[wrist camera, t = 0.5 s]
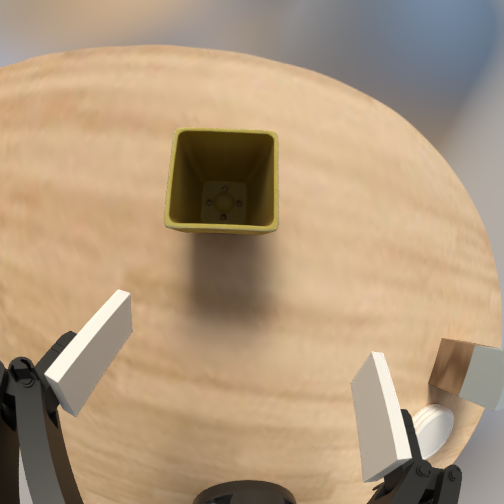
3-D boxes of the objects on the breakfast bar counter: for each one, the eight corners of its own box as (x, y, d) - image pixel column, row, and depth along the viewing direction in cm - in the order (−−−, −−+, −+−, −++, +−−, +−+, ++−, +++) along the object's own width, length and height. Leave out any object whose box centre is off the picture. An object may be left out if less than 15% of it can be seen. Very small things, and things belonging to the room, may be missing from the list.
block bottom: (453, 382, 31) (482, 393, 24) (428, 382, 30) (458, 396, 23) (466, 341, 32) (496, 347, 25) (441, 338, 31) (474, 345, 24)
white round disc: (411, 404, 30) (425, 413, 27) (450, 400, 31) (463, 406, 27) (387, 458, 29) (398, 468, 25) (428, 449, 30) (439, 457, 26)
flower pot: (180, 242, 29) (162, 227, 20) (186, 166, 30) (174, 126, 21) (262, 245, 30) (278, 231, 21) (263, 169, 30) (278, 130, 22)
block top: (482, 393, 24) (514, 404, 17) (458, 396, 24) (494, 411, 17) (496, 347, 25) (530, 354, 18) (474, 345, 24) (513, 353, 17)
